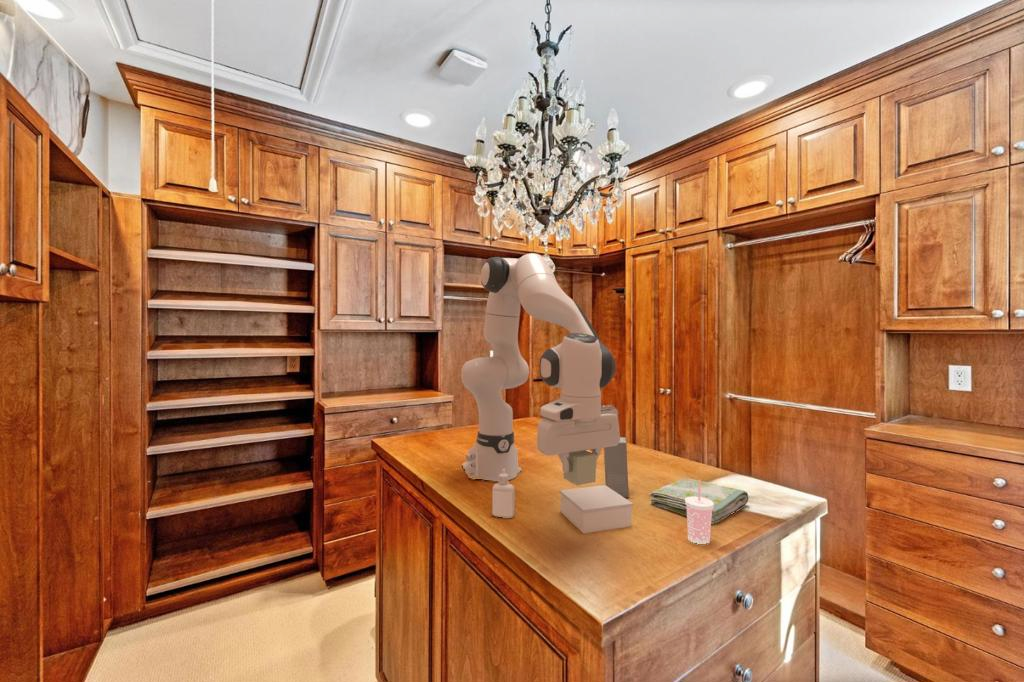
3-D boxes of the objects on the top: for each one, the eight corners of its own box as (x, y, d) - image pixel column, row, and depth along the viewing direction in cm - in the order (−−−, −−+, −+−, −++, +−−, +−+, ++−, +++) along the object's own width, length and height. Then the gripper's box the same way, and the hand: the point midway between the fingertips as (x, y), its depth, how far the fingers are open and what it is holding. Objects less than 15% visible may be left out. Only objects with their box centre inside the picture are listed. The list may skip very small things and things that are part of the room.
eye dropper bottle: (506, 521, 112) (506, 474, 111) (489, 515, 115) (489, 469, 115) (517, 516, 115) (517, 469, 115) (500, 510, 119) (500, 465, 118)
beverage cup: (678, 535, 105) (679, 476, 104) (701, 532, 106) (702, 474, 106) (695, 548, 99) (696, 485, 98) (719, 545, 100) (720, 483, 100)
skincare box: (629, 498, 127) (629, 443, 127) (603, 496, 129) (604, 441, 128) (627, 488, 136) (628, 436, 135) (603, 486, 137) (603, 435, 137)
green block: (563, 478, 100) (564, 451, 100) (581, 475, 102) (582, 449, 102) (576, 485, 96) (577, 457, 95) (595, 482, 98) (596, 454, 98)
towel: (646, 505, 123) (647, 487, 123) (688, 488, 137) (688, 472, 136) (711, 529, 109) (711, 508, 109) (750, 507, 122) (750, 489, 122)
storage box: (559, 512, 118) (559, 490, 118) (604, 506, 122) (605, 485, 122) (583, 535, 105) (583, 510, 105) (632, 527, 109) (632, 503, 109)
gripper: (608, 401, 106) (607, 459, 107) (533, 408, 97) (532, 471, 97) (626, 406, 100) (625, 467, 101) (549, 413, 91) (548, 480, 92)
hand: (579, 469), depth 99 cm, fingers closed on green block, 5 cm apart
